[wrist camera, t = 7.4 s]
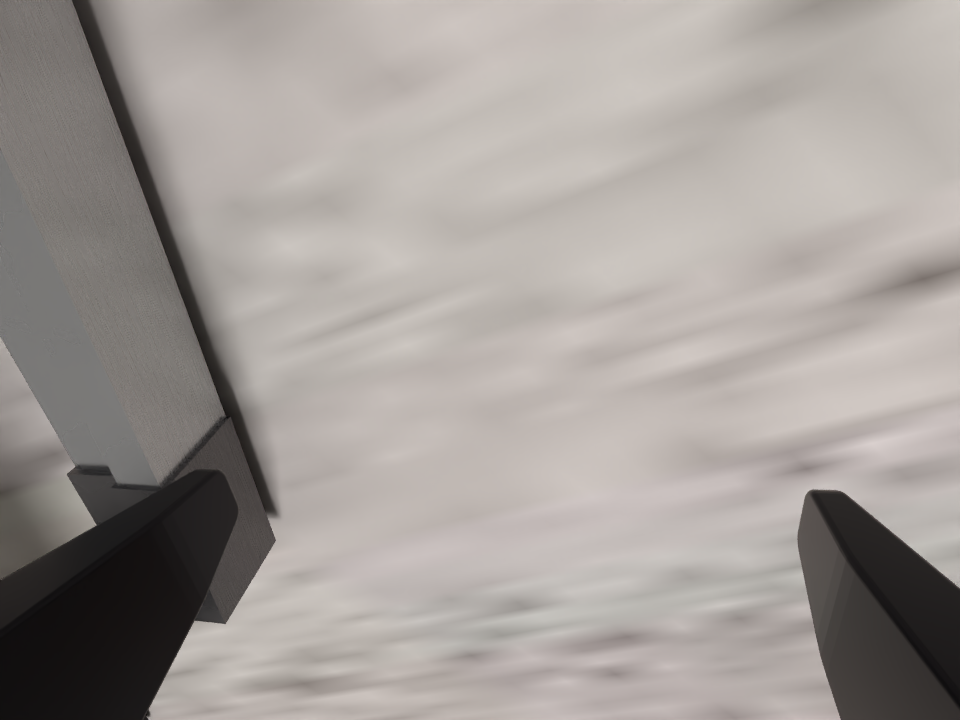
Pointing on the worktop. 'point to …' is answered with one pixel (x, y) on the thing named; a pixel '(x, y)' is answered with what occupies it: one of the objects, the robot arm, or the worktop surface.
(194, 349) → the tongs arm
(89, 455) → the tongs fixed
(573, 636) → the worktop surface
